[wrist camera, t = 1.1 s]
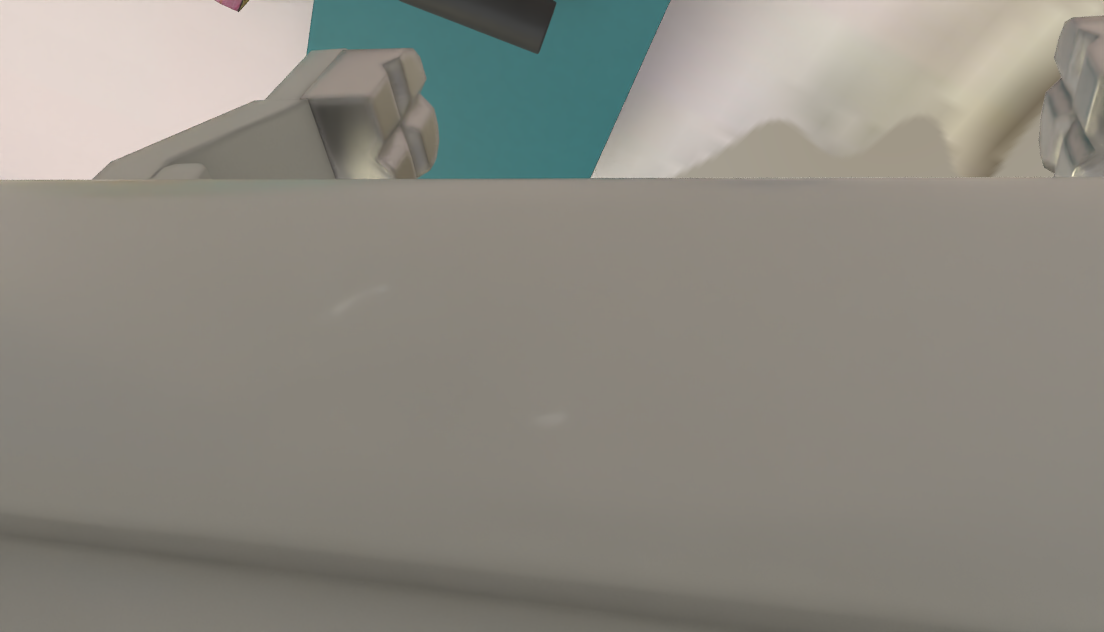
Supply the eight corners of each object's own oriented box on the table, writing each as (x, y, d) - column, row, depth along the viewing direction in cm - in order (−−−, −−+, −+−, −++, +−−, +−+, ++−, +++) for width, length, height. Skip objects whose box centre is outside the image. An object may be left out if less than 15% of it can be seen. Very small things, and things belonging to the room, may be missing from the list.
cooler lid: (343, -173, 30) (290, -122, 27) (683, -35, 32) (674, 30, 28) (293, 185, 42) (250, 253, 38) (544, 275, 43) (525, 348, 40)
